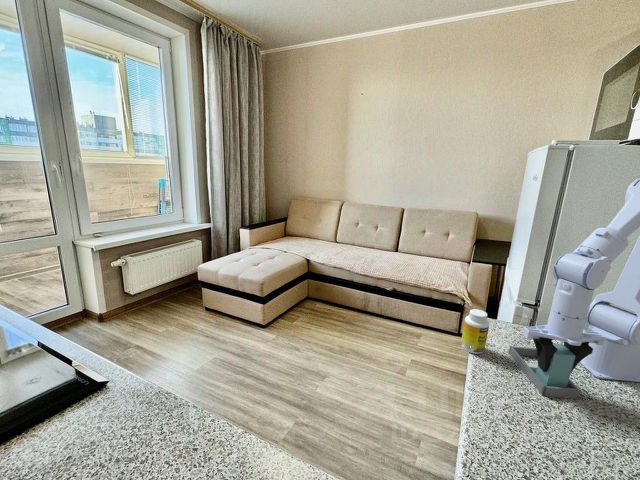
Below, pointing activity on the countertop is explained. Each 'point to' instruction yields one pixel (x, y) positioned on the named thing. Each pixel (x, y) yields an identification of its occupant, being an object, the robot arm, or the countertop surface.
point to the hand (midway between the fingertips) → (553, 369)
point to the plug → (558, 368)
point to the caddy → (530, 372)
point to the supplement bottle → (475, 331)
